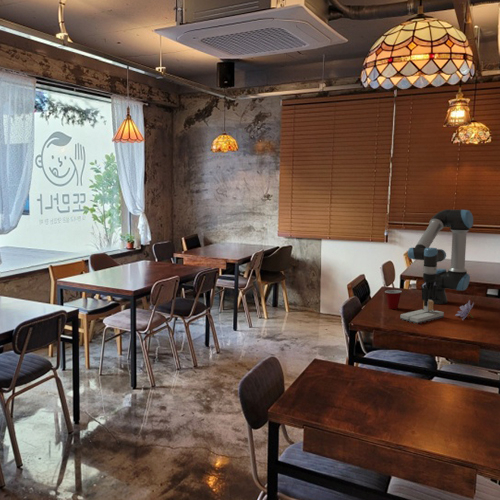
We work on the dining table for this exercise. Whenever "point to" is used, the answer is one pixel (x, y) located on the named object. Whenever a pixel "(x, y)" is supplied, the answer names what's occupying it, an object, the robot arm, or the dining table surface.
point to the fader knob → (429, 305)
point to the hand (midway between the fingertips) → (428, 310)
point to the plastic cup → (393, 298)
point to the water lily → (465, 310)
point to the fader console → (421, 316)
